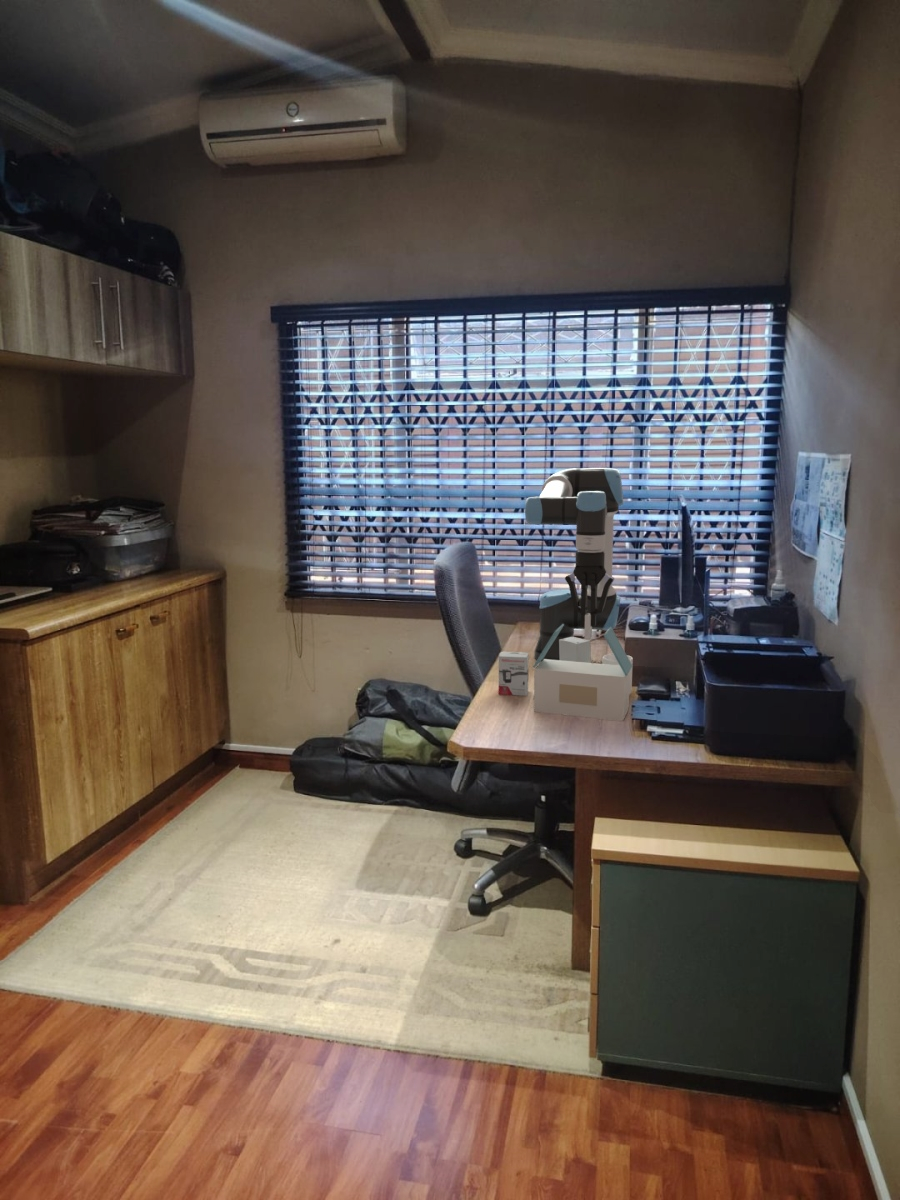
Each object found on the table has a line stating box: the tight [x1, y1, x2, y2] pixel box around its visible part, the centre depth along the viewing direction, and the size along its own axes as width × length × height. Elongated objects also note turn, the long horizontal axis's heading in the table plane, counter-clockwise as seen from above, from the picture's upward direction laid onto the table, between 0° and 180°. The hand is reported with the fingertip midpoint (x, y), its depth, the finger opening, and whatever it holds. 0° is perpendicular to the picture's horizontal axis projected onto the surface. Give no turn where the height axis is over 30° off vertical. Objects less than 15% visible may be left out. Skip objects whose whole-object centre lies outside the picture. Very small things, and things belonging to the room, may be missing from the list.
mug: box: [601, 653, 634, 696], centre depth 224 cm, size 9×12×11 cm
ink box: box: [497, 651, 530, 697], centre depth 227 cm, size 9×5×12 cm, turn 79°
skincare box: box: [559, 636, 592, 663], centre depth 231 cm, size 8×6×15 cm
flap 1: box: [532, 624, 564, 669], centre depth 212 cm, size 12×10×1 cm
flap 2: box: [603, 627, 633, 676], centre depth 205 cm, size 12×10×1 cm
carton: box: [533, 659, 630, 722], centre depth 211 cm, size 11×24×12 cm, turn 69°
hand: (588, 637), depth 208 cm, fingers closed
